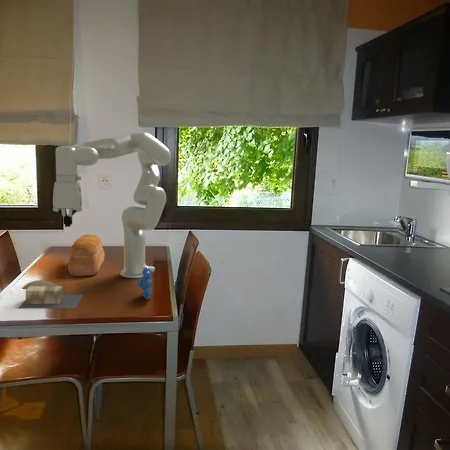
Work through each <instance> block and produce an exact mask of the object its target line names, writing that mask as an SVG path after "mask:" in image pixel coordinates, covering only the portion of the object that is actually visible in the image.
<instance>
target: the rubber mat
mask: <svg viewBox="0 0 450 450" xmlns="http://www.w3.org/2000/svg"><path fill="white" fill-rule="evenodd" d="M83 295H84V294H63V300H62V301H61V303H60V304H26V299H25V300H24V301H23V302H22V303H21V304H20V306H19V307H18V309H76V308H77V307H78V305H79V303H80V301H81V299H82V297H83Z"/></svg>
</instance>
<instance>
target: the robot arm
mask: <svg viewBox="0 0 450 450" xmlns="http://www.w3.org/2000/svg"><path fill="white" fill-rule="evenodd" d="M134 153H137V158H138V161H139V163H140V166H141V175H140V179H139V181H138V183H137V186H136V188H135V191H134V192H133V201H134V202H135V203H136V204H137V205H139V206H140V207H139V206H134V205H133V206H127V207H126V208H125V209H124V210H123V211H122V214H121V223H122V227H123V269H122V270H121V271H120V276H121V277H124V278H127V279H142V277H143V273H142V272H143V270H144V269H145V268H146V267H148V268H149V269H150V270H151V272H155V271H156V268H155V266H152V265H150V266H149V265H147V263H146V233H145V231H152V230H154V229H155V228H156V227H157V225H158V223H159V221H160V218H161V216H162V213H163V210H164V208H165V205H166V203H167V194H166V192H165V189H164V188H162V187H160V186H158V185H159V183H160V179H161V173H160V170H159V167H164V166H167V165H168V164H169V163H170V161H171V157H172V155H171V151H170V150H169V148H168V147H167V146H166V145H164V144H163V143H162V142H161V141H159V140H158V139H157V138H156V137H155V136H153V135H151V134H150V133H147V132H138V131H136V132H128V133H122V134H120V135H116V136H111V137H106V138H100V139H97V140H91V141H85V142H81V143H78V144H77V143H76V144H73V145H71V146H66V145H65V146H61V145H60V146H57V147H56V148H55V174H56V175H55V176H56V177H55V180H56V181H55V182H54V186H53V194H52V206H53V208H52V211H53V212H56V213H57V212H58V213H59V214H60V215H61V217H63V218H62V219H63V220H62V222H63V225H64V228H67V227H68V228H70V227H71V226H72V225H73V216H74V215H75V214H76V213H80V212H82V211H83V207H82V206H83V202H82V201H83V199H82V197H83V196H82V188H81V184H80V182H78V181H81V180H82V176H79V175H78V166H85V167H91V166H94V165H95V164H97V163H98V161H99V160H102V159H103V160H104V159H105V160H110V159H117V158H121V157H123V156H126V155H130V154H134ZM158 166H159V167H158ZM141 206H143V207H141ZM67 210H68V213H67Z"/></svg>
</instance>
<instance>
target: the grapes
mask: <svg viewBox="0 0 450 450" xmlns="http://www.w3.org/2000/svg"><path fill="white" fill-rule="evenodd" d="M151 272H152V271H151V270H150V269H149V268H148V267H146V268H145V269H144V270H143V272H142V273H143V277H141V278H138V280H137V282H136V283H135V285H137V287H138V288H141V289H142V291H143V292H142V295H143V297H144V298H145V300H149V299H150V298H151V297H152V292H153V290H152V289H151V287H152V285H153V284H154V282H153V280H152V279H151V277H152V276H153V275H152V273H151Z"/></svg>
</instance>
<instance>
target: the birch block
mask: <svg viewBox="0 0 450 450" xmlns="http://www.w3.org/2000/svg"><path fill="white" fill-rule="evenodd" d="M63 295H64V286H62V285H59V286H30V287H29V288H28V289H27V290H26V289H25V300H26V304H60V303H61V301H62V300H63Z"/></svg>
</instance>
